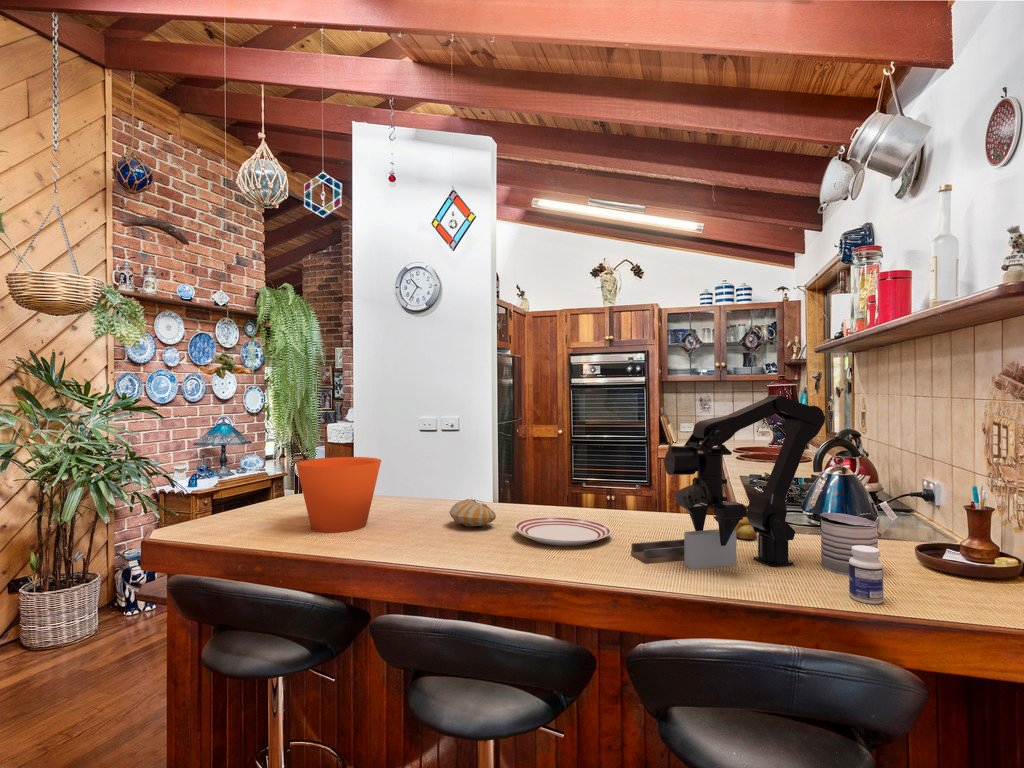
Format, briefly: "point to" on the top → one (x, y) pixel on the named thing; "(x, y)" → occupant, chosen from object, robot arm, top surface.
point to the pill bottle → (866, 575)
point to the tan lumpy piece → (744, 529)
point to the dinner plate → (562, 530)
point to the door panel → (708, 550)
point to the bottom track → (658, 551)
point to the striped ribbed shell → (472, 513)
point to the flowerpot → (338, 491)
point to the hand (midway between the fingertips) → (710, 540)
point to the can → (844, 539)
